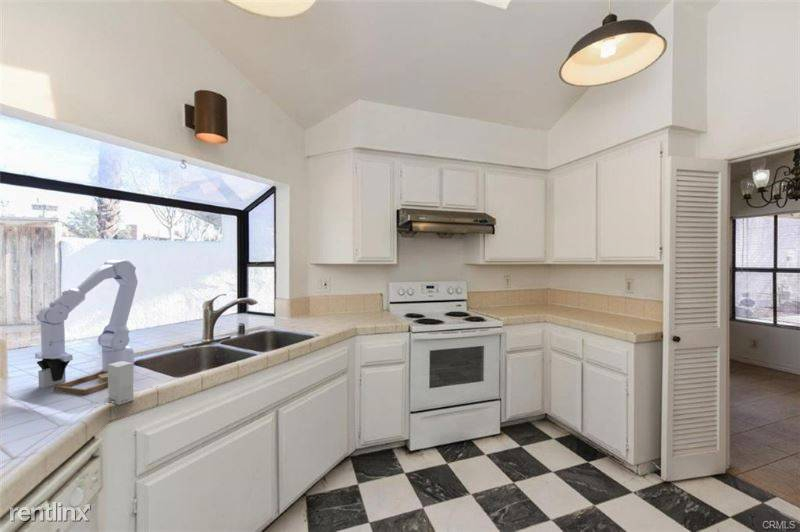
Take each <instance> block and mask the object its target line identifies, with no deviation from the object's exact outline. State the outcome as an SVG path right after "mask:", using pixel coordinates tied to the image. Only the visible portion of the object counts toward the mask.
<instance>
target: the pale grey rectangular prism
mask: <svg viewBox="0 0 800 532" xmlns="http://www.w3.org/2000/svg"><path fill="white" fill-rule="evenodd" d="M37 375H38V388H41V389H45V388H48V387H52V386H56V385H59V384H62V383H65V382H67V381H66V370H65V371H64V374H63V377H62V380H58V381H53V379H52V373H51V370H50V368H48V369H44V370H42V369H41V370H38V374H37Z"/></svg>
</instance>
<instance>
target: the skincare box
mask: <svg viewBox="0 0 800 532" xmlns="http://www.w3.org/2000/svg"><path fill="white" fill-rule="evenodd" d="M107 389H108V390H107V393H108V394H107V396H108V398H109V399H111V400H110V401H113V402H114V403H113V404H115V405H118V406H119V405H123V404H126V403H128V402H132V401H134V399H135V398H134V394H135V393H134V366H133V363H129V362H125V361H120V362H116V363H112V364H108V387H107Z"/></svg>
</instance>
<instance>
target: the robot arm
mask: <svg viewBox="0 0 800 532" xmlns="http://www.w3.org/2000/svg"><path fill="white" fill-rule="evenodd" d="M112 278H113V280H114V281H116V282H117V284H118V286H119V287H118V290H117V294H116V296H115V300H114V305H113V307H112V312H111V316H110V319H109V322H108V324H107V325H106V326H104V328H103V330H102V333H101V334H100V335H99V336H98V338H97V343H98V345H99V346H100V347H101V367H102V368H101V370H102V371H108V364H112V363H116V362H120V361H125V362H129V363H133V365H135V353H134V352H135V351H134V349H133V348H132V347H131V346H128V344H129V343H130V336H129V332H130V330H129V328H128V326H127V324H128V319H129V316H130V313H131V309H132V305H133V301H134V298H135V294H136V290H137V286H138V278H137V274H136V266H135V265H134V264H133V263H132V262H131V261H129V260H127V259H122V260H117V259H108V260H106V261H105V262H104V263H102V264H100V265H99V266H98V267H97V268H96V270H94V272H92V274H90V275H89V276H88V277H87V278H86V279H85V280H84V281H82V282H81V283H80V284H79V285H78V286H77V287H76V288H70V289H67V290H63V291H62V292H61V295H60V296H58V298H56V299H55V300H54V301H51V302H49V303H48V304H49V305H48V306H44V307H42V308H41V309H40V310H39V311H38V313H37V314H36V319H37V321H39V322H40V347H41V348H40V349H41V351H38V352H35V353H34V358H35V359H38V361H37V362H36V364H37V365H38V366H39V367H40V369H41V370H44V369H48V368H50V370H51V373H52V379H53V381H58V380H62V377H63V374H64V371H65V372H66V368H67V366H68V365H69V363H70V362H71V361H73V360H74V359H73V354H72V353H69V352H67V351H66V337H65V335H66V334H65V333H66V332H65V331H66V330H65V327H66V326H65V321H67V319H68V318H69V313H71V312H72V311H73V310H74V309H76V308H77V307H78V306H79V305H80V304H81V303H83V302H84V301H85V300H86V294H88V293H89V292H90V291H92V290H93V289H94V288H95V287H97V286H98V285H99V284H101V283H102V282H103V281H104V280H108V279H112Z"/></svg>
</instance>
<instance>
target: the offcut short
mask: <svg viewBox="0 0 800 532" xmlns="http://www.w3.org/2000/svg"><path fill="white" fill-rule="evenodd" d="M97 379H98V381H99V383H100V384H102V383H105V382H108V373H105V374H100V375H98V378H97Z"/></svg>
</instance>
